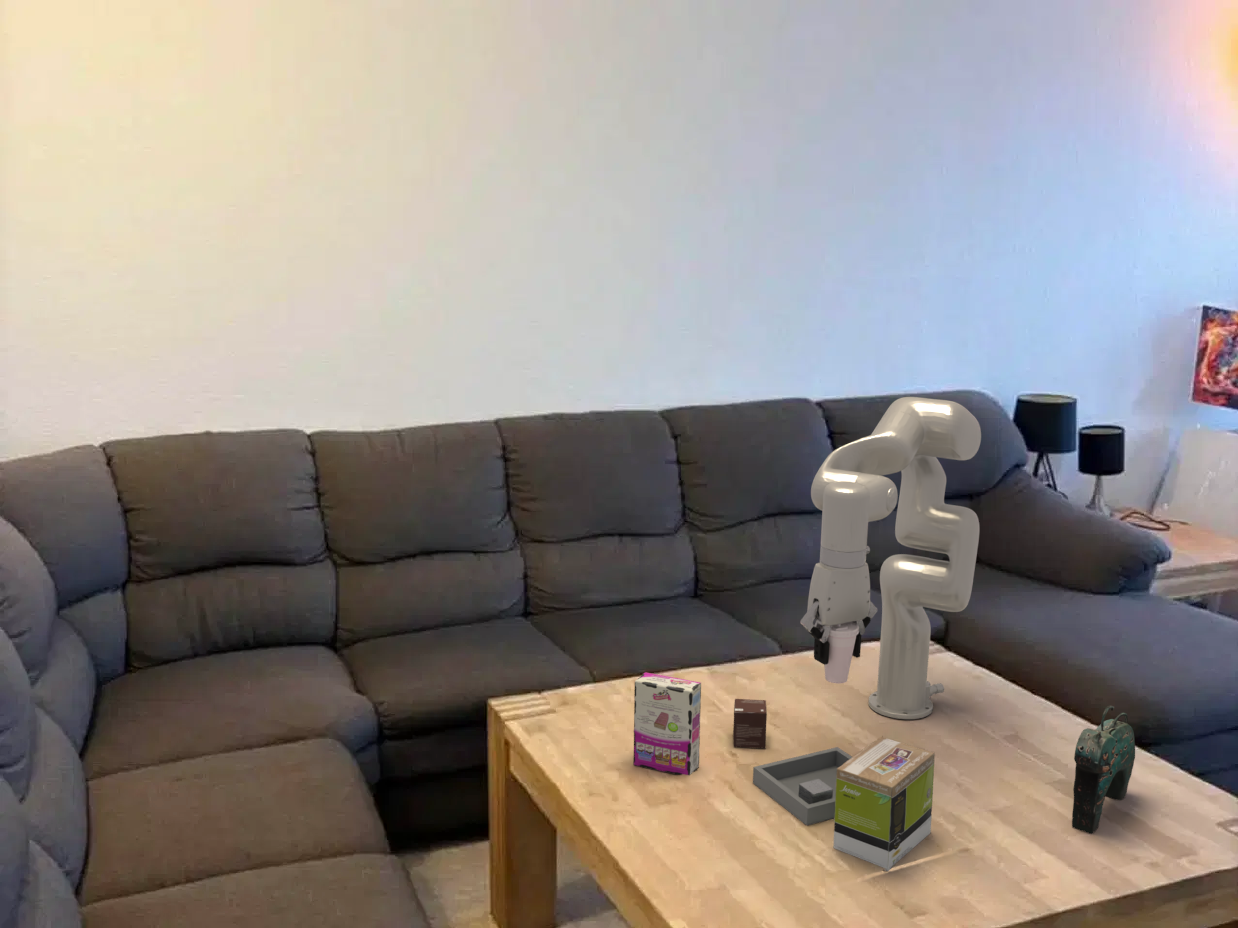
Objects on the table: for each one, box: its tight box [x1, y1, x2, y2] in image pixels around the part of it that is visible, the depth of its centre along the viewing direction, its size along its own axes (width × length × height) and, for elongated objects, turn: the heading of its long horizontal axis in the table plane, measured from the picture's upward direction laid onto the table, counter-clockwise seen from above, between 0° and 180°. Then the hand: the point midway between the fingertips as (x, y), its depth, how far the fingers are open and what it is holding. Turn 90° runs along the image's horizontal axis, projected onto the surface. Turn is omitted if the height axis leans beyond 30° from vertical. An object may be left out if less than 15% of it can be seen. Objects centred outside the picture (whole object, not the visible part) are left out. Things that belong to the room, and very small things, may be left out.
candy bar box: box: [632, 671, 702, 776], centre depth 222 cm, size 11×5×16 cm, turn 65°
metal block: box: [798, 779, 833, 804], centre depth 208 cm, size 4×4×4 cm
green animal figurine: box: [1071, 705, 1136, 835], centre depth 208 cm, size 20×6×20 cm, turn 139°
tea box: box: [832, 735, 936, 872], centre depth 198 cm, size 15×10×15 cm, turn 141°
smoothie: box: [821, 622, 859, 684], centre depth 210 cm, size 6×6×14 cm
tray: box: [752, 746, 853, 826], centre depth 214 cm, size 18×16×4 cm
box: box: [732, 698, 768, 750], centre depth 233 cm, size 6×6×7 cm
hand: (836, 657), depth 211 cm, fingers closed on smoothie, 6 cm apart
